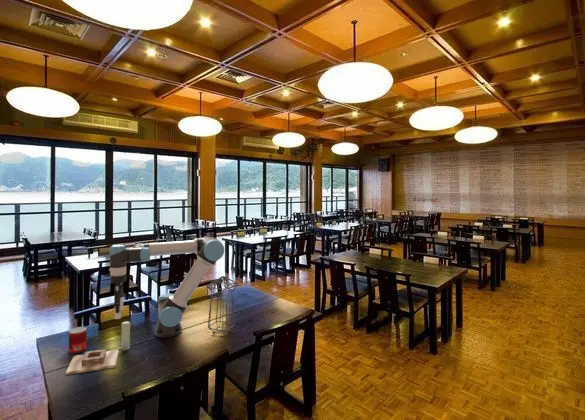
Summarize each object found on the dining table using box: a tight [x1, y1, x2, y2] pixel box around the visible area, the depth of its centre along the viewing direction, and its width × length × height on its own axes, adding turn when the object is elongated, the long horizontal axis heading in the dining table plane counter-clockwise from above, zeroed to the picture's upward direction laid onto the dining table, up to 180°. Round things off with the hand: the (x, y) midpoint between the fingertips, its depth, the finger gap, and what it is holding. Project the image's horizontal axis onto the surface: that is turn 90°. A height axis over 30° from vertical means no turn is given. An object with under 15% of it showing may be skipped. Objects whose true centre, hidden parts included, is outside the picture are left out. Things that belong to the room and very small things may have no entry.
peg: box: [121, 321, 131, 351], centre depth 177 cm, size 4×4×14 cm
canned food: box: [68, 326, 88, 354], centre depth 173 cm, size 8×8×11 cm
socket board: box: [65, 348, 120, 375], centre depth 162 cm, size 20×16×4 cm
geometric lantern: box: [205, 275, 239, 336], centre depth 199 cm, size 16×16×35 cm
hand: (119, 314), depth 175 cm, fingers open, 13 cm apart
